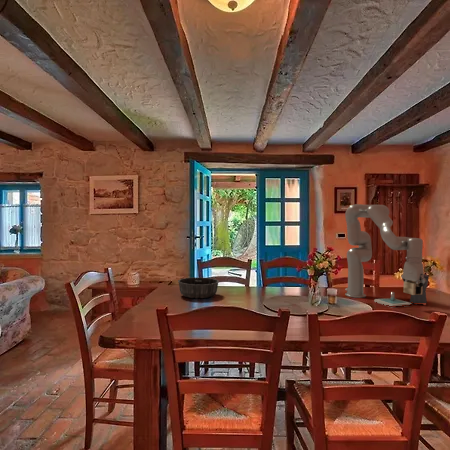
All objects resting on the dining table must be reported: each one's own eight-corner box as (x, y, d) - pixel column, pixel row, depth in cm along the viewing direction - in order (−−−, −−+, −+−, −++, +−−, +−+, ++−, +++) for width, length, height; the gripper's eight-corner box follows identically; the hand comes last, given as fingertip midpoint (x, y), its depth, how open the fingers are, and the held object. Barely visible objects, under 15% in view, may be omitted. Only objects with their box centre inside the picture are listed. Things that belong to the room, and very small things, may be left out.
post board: (374, 301, 203) (374, 298, 203) (392, 300, 207) (392, 297, 207) (392, 307, 190) (392, 304, 190) (411, 305, 194) (411, 302, 194)
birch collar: (403, 292, 188) (403, 281, 188) (412, 291, 190) (412, 281, 190) (413, 295, 182) (413, 284, 182) (422, 294, 184) (422, 283, 184)
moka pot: (421, 306, 192) (422, 272, 192) (400, 300, 207) (401, 268, 206) (435, 305, 194) (435, 271, 194) (413, 299, 209) (413, 268, 209)
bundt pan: (225, 294, 222) (225, 279, 222) (206, 302, 198) (207, 285, 198) (191, 290, 233) (191, 276, 233) (169, 297, 209) (169, 282, 209)
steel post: (390, 300, 199) (390, 292, 199) (392, 300, 200) (392, 291, 200) (392, 301, 197) (392, 292, 197) (395, 301, 198) (395, 292, 198)
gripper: (396, 258, 192) (395, 289, 193) (422, 262, 176) (421, 296, 177) (406, 258, 195) (405, 288, 195) (433, 262, 178) (431, 295, 179)
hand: (412, 292), depth 186 cm, fingers closed on birch collar, 6 cm apart
